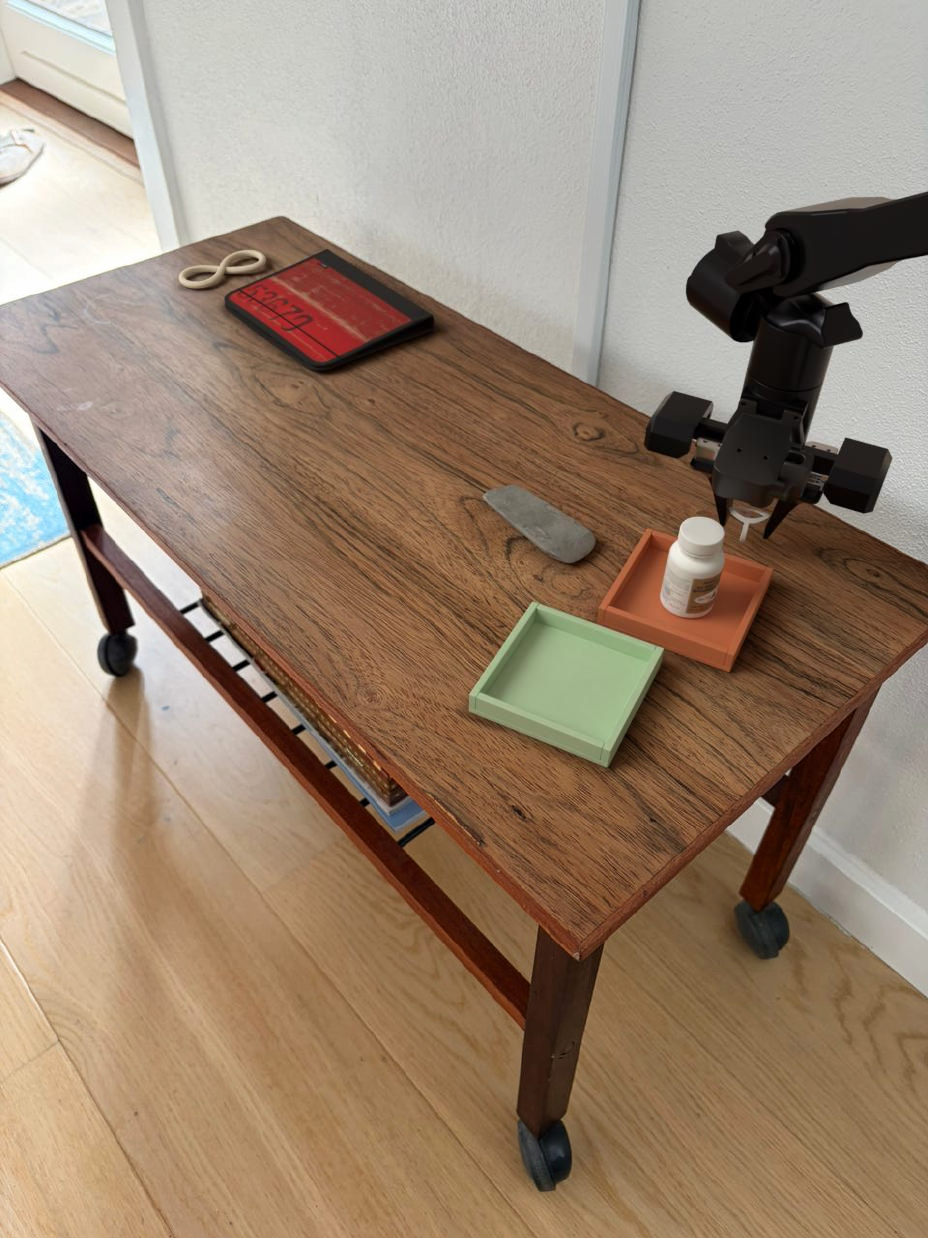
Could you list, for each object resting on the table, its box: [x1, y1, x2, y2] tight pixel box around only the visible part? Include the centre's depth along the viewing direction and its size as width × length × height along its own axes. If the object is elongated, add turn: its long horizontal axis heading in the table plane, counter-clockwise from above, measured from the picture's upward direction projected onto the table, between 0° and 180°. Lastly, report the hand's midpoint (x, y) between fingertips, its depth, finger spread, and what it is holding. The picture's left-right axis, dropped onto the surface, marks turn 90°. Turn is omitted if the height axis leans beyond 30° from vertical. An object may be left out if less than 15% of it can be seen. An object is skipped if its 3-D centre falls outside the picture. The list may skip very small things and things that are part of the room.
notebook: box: [223, 248, 435, 372], centre depth 117 cm, size 16×2×21 cm
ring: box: [729, 506, 771, 544], centre depth 88 cm, size 3×3×3 cm
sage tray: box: [468, 600, 665, 769], centre depth 78 cm, size 11×11×2 cm
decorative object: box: [178, 249, 267, 290], centre depth 125 cm, size 11×1×5 cm
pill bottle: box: [660, 516, 726, 618], centre depth 82 cm, size 4×4×8 cm
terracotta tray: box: [596, 527, 775, 673], centre depth 84 cm, size 11×11×2 cm
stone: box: [482, 484, 596, 564], centre depth 91 cm, size 12×2×5 cm
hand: (744, 529), depth 88 cm, fingers closed on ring, 3 cm apart
